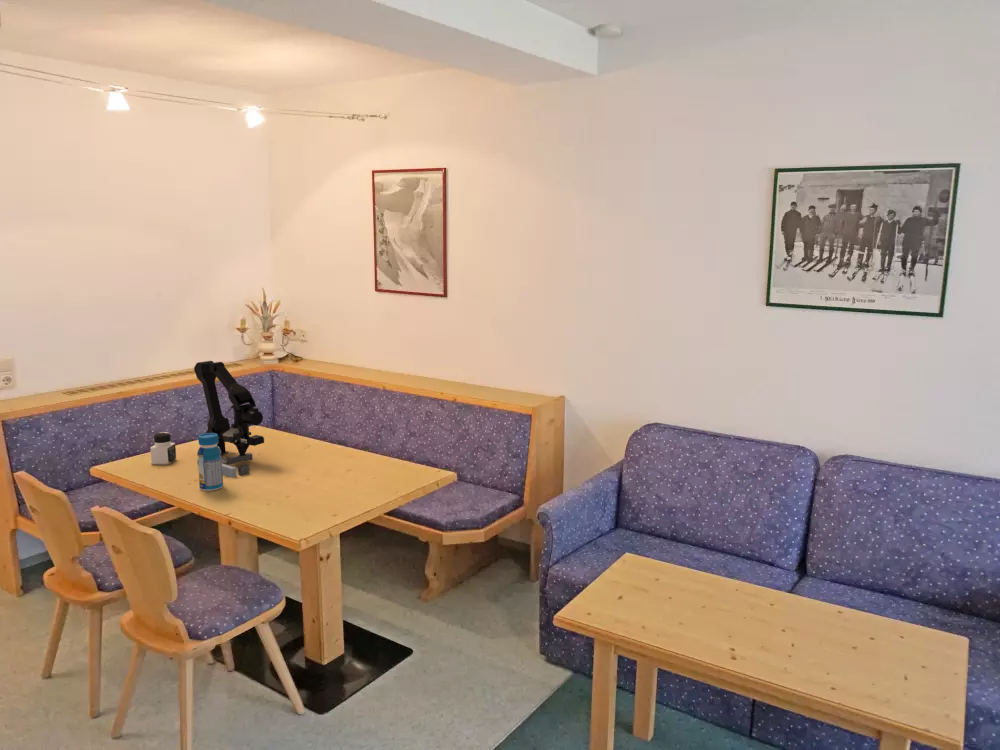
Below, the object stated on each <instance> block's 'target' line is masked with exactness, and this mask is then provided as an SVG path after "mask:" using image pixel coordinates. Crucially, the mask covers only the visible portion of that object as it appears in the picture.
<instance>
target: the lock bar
mask: <svg viewBox="0 0 1000 750" xmlns="http://www.w3.org/2000/svg"><path fill="white" fill-rule="evenodd" d="M249 461H253V453H251V452H246V453H245V454H241V455H240V454H237V455H231V456H226V457H225V456H224V457H222V464H226V465H233V464H240V463H243V462H249Z"/></svg>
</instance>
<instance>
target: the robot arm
mask: <svg viewBox="0 0 1000 750" xmlns="http://www.w3.org/2000/svg"><path fill="white" fill-rule="evenodd" d="M193 370H194V371H193V372H194V373H195V376H196V379H198V381H199V382H200V383H201V384H202V388H203V392H204V397H205V402H206V406H207V410H208V416H209V419H208V421H207V425H206V426H207V430H206V431H205V433H216V434H218V444H217V445H218V446H219V448H220V450H221V456H222V455H226V454H229V451H227V450H226V443H230V444H232V445H234V446H235V447H236V449H237V452H238V455H241V454H246V453H247V452H248V451H247V450H248V448H249V447H250V446H253V447H254V446H255V447H256V446H259V445H262V444H264V443H265V437H264V436H263V435H259V434H254V435H252V432H251V431H250V426H252V425H253V426H259V425H260V424H262V422H263V421H264V420H263V419H264V416H263V414H262V412H261V411H259V408H257V405H256V401H255V399H254V398H253V396H252V394H251V392H250V391H249V390H248V388H246V386H243V385H241V384H239V383H238V382H237V380H236V379H235V377H234V376H233V375H232V374H231V372H229V370H228V369H227V368H226V366H225V363H224V362H222V361H216V362H214V361H213V360H206V361H199V362H196V363H195V366H194V367H193ZM216 379H217V380H218V381H219V383H220V384H221V385H223V387H224V388H225V390H226V391H227V392H228V393H227V395H228V396H227V398H228V399H229V401H230V403H231V404H232V405H231V406H230V409H232V410H233V423H231V425H230V419H229V418H228V417H225V416H224V415H223V411H222V408H221V404H220V399H219V393H218V390H217V385H216Z"/></svg>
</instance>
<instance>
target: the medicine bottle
mask: <svg viewBox="0 0 1000 750" xmlns="http://www.w3.org/2000/svg"><path fill="white" fill-rule="evenodd" d="M153 438H154V445H152V446H150V458H151V459H150V461H151V464H152V465H170V464H171V463H173V462H174V461H176V460H177V451H176V443H175V442H172V440H171V439H172V437H171V433H170V432H168V431H167V432H166V431H165V432H164V431H160V432H157V433H155V434H154V435H153Z"/></svg>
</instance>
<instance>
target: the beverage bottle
mask: <svg viewBox="0 0 1000 750" xmlns="http://www.w3.org/2000/svg"><path fill="white" fill-rule="evenodd" d="M197 440H198V445H199V448H198V450H197V453H196V454H197V457H198V458H197V463H196V464H197V466H198V467H197V471H198V481H199V482H198V483H199V489H200V490H201V491H203V492H213V491H218V490H221V489H222V488H223V487H224V482H223V481H224V480H223V479H224V477H223V476H224V475H222V458H223V457H222V455H221V450H220V448H219V446H218V445H217V444H218V434H216V433H206V432H205V433H200V434H199V435H198V439H197Z"/></svg>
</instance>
